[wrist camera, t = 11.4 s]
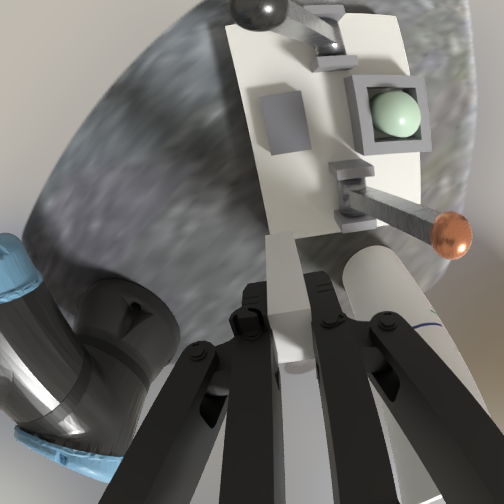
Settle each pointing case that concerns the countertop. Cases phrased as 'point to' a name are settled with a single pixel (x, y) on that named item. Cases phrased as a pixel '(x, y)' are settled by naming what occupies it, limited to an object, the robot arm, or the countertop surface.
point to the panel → (327, 120)
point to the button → (395, 113)
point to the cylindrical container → (426, 325)
